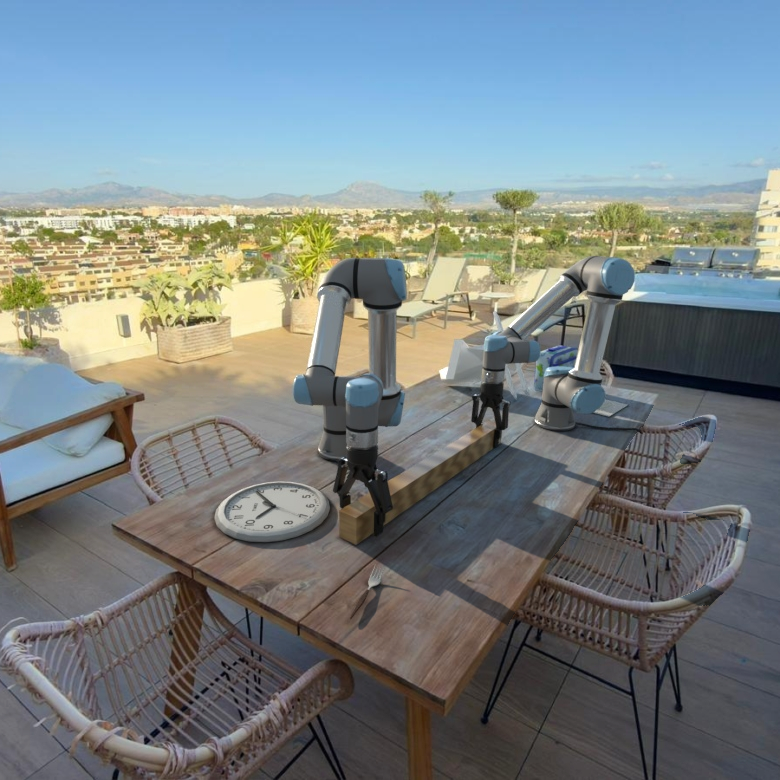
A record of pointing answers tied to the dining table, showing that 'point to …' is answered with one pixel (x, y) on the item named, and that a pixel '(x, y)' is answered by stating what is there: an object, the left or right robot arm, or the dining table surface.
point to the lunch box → (553, 362)
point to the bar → (417, 482)
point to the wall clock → (272, 511)
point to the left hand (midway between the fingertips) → (361, 526)
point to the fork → (372, 582)
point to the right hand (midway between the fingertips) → (487, 444)
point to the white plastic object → (475, 365)
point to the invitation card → (610, 408)
